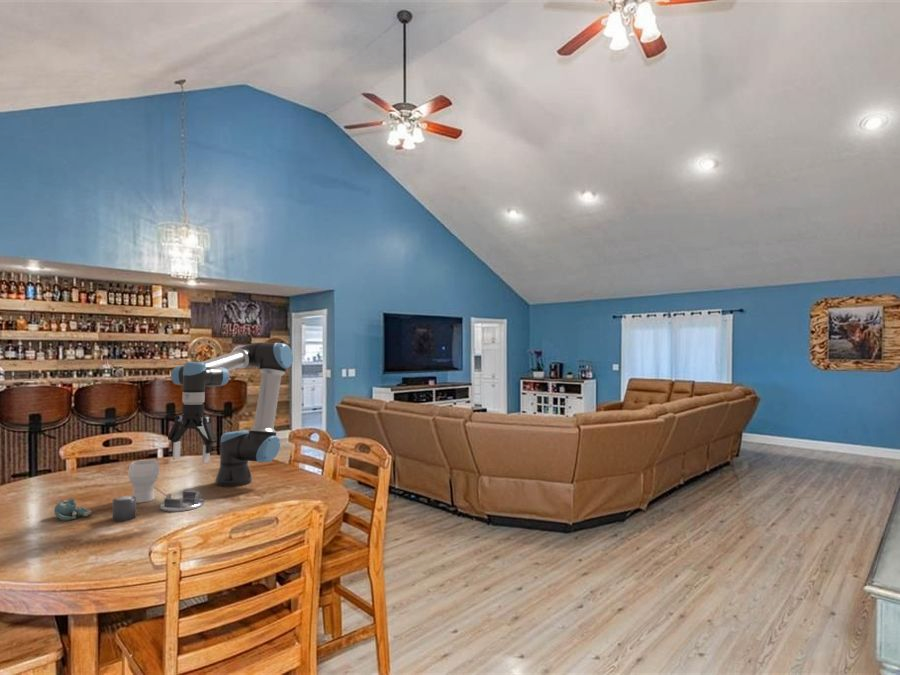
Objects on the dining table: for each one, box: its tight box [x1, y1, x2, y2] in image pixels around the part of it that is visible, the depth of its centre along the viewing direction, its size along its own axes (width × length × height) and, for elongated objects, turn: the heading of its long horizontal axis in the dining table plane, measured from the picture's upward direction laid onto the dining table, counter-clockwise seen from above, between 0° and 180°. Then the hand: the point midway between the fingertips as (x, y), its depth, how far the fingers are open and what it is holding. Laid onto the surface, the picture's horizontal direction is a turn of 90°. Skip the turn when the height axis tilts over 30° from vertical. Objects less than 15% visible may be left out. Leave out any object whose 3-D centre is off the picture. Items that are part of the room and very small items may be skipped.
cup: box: [127, 459, 160, 504], centre depth 203 cm, size 11×11×15 cm
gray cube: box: [111, 495, 137, 523], centre depth 181 cm, size 7×7×7 cm
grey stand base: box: [159, 490, 205, 513], centre depth 197 cm, size 15×15×4 cm
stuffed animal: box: [53, 497, 93, 522], centre depth 182 cm, size 11×7×12 cm
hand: (191, 460), depth 190 cm, fingers open, 13 cm apart
